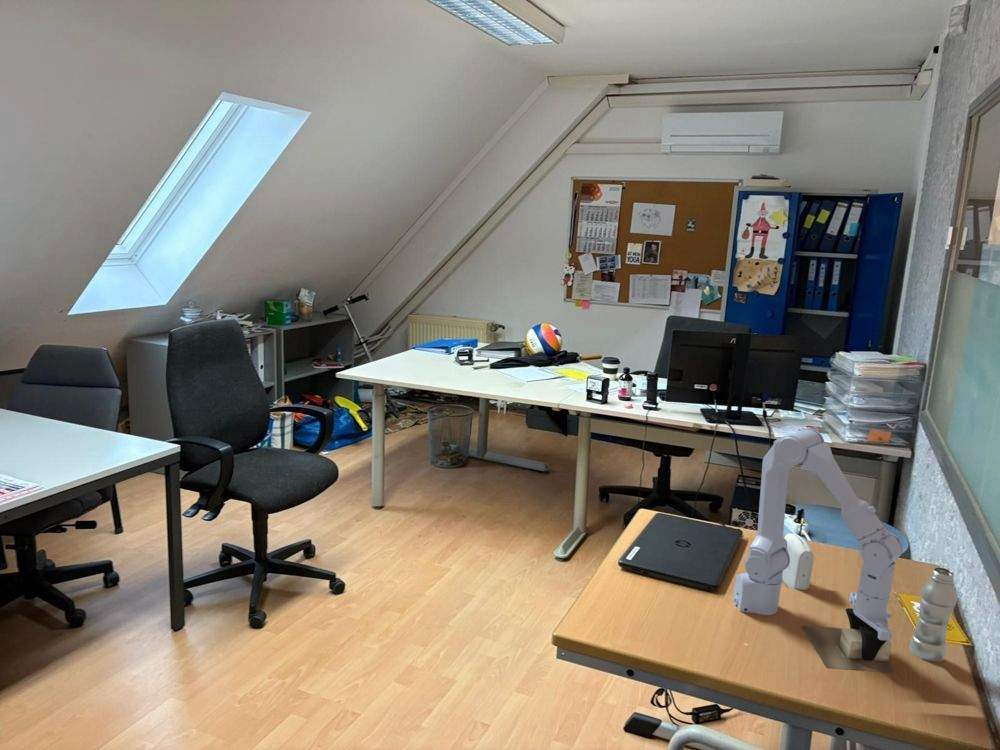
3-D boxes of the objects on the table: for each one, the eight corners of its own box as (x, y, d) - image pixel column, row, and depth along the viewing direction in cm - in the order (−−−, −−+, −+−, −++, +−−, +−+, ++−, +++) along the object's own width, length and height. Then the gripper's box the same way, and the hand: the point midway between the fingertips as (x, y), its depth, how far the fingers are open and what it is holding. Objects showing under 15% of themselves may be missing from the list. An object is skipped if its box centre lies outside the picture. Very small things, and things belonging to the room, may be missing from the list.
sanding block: (848, 658, 151) (851, 640, 150) (839, 645, 156) (842, 628, 155) (888, 661, 151) (891, 643, 150) (878, 648, 156) (881, 631, 155)
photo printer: (810, 595, 178) (818, 548, 175) (792, 595, 178) (800, 547, 175) (791, 574, 188) (799, 529, 185) (775, 573, 188) (782, 528, 185)
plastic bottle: (900, 653, 157) (917, 566, 152) (922, 646, 160) (940, 561, 155) (927, 671, 151) (947, 581, 146) (950, 664, 154) (969, 576, 149)
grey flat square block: (825, 674, 148) (826, 667, 148) (799, 631, 163) (800, 625, 162) (896, 679, 148) (898, 673, 148) (864, 636, 162) (865, 630, 162)
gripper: (911, 612, 143) (898, 674, 146) (877, 575, 157) (866, 632, 160) (874, 610, 143) (862, 672, 146) (843, 573, 157) (833, 630, 161)
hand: (862, 651), depth 153 cm, fingers closed on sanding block, 4 cm apart
